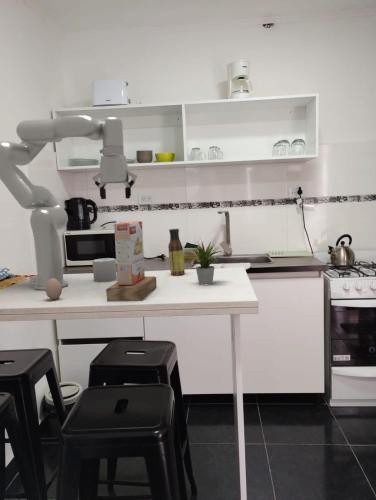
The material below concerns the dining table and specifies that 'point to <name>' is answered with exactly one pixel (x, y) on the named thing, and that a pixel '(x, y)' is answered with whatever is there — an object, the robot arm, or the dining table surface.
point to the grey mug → (104, 270)
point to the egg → (53, 289)
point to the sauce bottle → (176, 253)
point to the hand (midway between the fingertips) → (115, 198)
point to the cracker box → (129, 252)
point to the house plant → (205, 264)
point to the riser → (132, 290)
